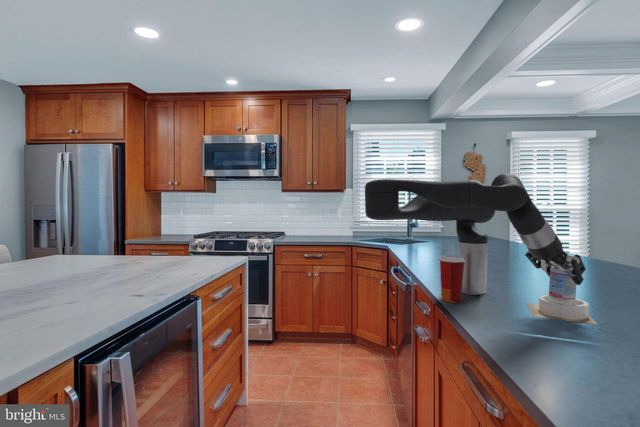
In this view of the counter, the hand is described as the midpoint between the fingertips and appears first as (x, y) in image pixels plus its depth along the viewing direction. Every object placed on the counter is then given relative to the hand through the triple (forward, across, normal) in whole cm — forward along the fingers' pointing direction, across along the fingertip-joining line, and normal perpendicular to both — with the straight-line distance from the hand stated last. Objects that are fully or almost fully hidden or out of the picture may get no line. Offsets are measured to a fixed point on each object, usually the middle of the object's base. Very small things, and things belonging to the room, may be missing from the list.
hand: (567, 279), depth 96 cm
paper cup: (-7, -22, -22) cm, 32 cm away
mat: (+6, -1, -8) cm, 10 cm away
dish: (+6, 0, -7) cm, 9 cm away
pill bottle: (+3, 0, -5) cm, 6 cm away
